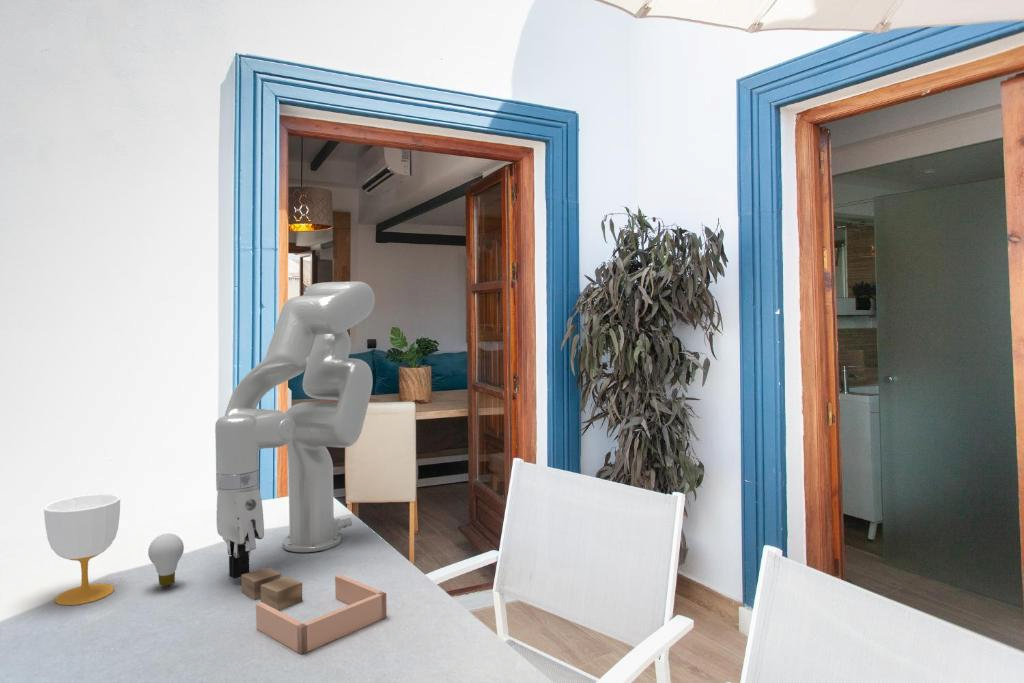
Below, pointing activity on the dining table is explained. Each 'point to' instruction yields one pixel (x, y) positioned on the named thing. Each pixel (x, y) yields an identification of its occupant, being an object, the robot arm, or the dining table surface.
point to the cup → (82, 538)
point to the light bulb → (166, 557)
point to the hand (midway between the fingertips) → (239, 575)
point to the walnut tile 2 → (281, 593)
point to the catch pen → (325, 617)
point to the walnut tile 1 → (257, 581)
